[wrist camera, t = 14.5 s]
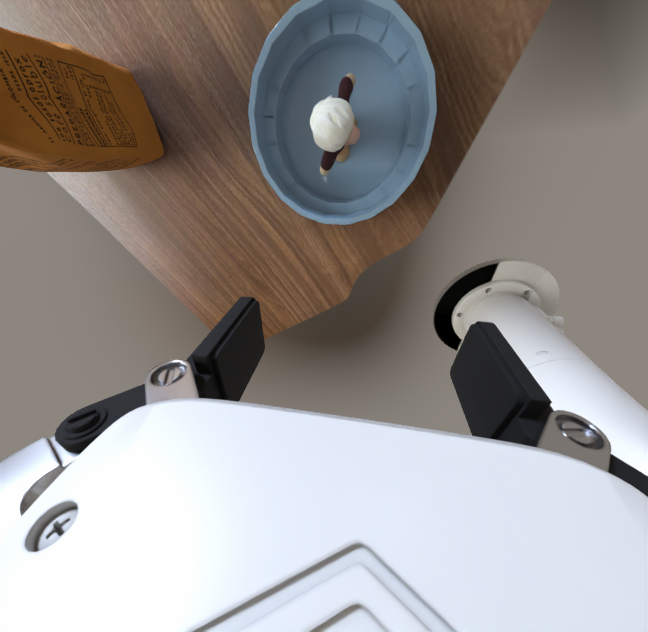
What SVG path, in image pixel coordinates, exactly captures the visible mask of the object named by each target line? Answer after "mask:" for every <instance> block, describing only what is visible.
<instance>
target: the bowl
mask: <svg viewBox="0 0 648 632" xmlns="http://www.w3.org/2000/svg"><path fill="white" fill-rule="evenodd" d="M348 73H352V74H354V76H355V78H356V83H355V86H354V88H353V91H352V94H351V96H350V99H349V104H350V106H351V109H352V112H353V114H354V117H355V118H356V120H357V127H358V128H359V129H360V137H359V139H358V141H357V142H356V143H355V144H353V145H348V146H349V148H350V154H349V156H348V158H347V160H346V161H344V162H338V161H336V160H335V162H334V165H333V166H332V168H331V169H330V172H329V173H328V174H327V175H323V174H321V172H320V166H321V160H322V155H323V153H324V149H322V148H320V147H319V146H318V145H317V144H316V143H315V140H314V137H313V131H312V129H311V126H310V118H311V115H312V112H313V109H314V107H315V105H317V104H318V102H320V101H322V100H325V99H326V98H327V97H329V96H330V95H332V97H333V98H337V97H338V90H339V84H340V82H341V80H342V78H343V77H345V76H346V75H347V74H348ZM248 111H249V112H248V114H249V122H250V130H251V138H252V145H253V149H254V151H255V154H256V156H257V159H258V162H259V164H260V167H261V169H262V172H263V175H264V177H265V178H266V179H267V181H268V182H269V184H270V185H271V186H272V188H273V189H274V191H275V192H276V193H277V195H278V196H279V198H280V199H281V200H282V201H283V202H285V203H286V204H287V205H289V206H290V207H291V208H292V209H294V210H295V211H296V212H297V213H299V214H300V215H302V216H304V217H307V218H310V219H312V220H315V221H317V222H320V223H323V224H339V225H349V224H352V223H356V222H359V221H363V220H366V219H369V218H372V217H374V216H375V215H377V214H378V213H380V212H381V211H383V210H384V209H386V208H387V207H389V206H390V205H392V204H393V203H394V202H395V201H396V200H397V199H398V198H399V197H400V196H401V194H402V193H403V192H404V191H405V190H406V189H407V187H408V186H409V185H410V184H411V183H412V182H413V180H414V179H415V177H416V175H417V173H418V171H419V169H420V167H421V165H422V163H423V161H424V158H425V156H426V154H427V152H428V150H429V148H430V143H431V138H432V133H433V128H434V124H435V119H436V114H437V101H436V82H435V69H434V67H433V64H432V61H431V58H430V55H429V53H428V50H427V47H426V44H425V41H424V39H423V36H422V33H421V31H420V30H419V29H418V27H417V26H416V25H415V24H414V22H413V21H412V20H411V19H410V18H409V16H408V15H407V14H406V13H405V12H404V10H403V9H402V8H401V7H400V6H399V4H398V3H397V2H395V1H394V0H301V1H299V2H297V3H295V4H294V5H292V6H291V8H290V9H289V10H288V11H287V13H286V14H285V15H284V16H283V17H282V19H281V20H280V21H279V22H278V24H277V25H276V26H275V27H274V29H273V30H272V31H271V32H270V34H269V35H268V37H267V38H266V41H265V43H264V46H263V48H262V51H261V53H260V56H259V59H258V61H257V64H256V66H255V69H254V71H253V74H252V83H251V91H250V100H249V109H248Z"/></svg>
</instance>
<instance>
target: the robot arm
mask: <svg viewBox="0 0 648 632" xmlns="http://www.w3.org/2000/svg"><path fill="white" fill-rule="evenodd" d="M563 322H564V319H563V318H562V317H560V316H548V315H546V314H545V313H544V312H543V311H542V310H541V302H540V298H539V296H538V294H537V293H536V292H535V291H534V290H533V289H532V288H531V287H529V286H528V285H526V284H524V283H522V282H519V281H515V280H497V281H492V282H488V283H486V284H483V285H480V286H478V287H476V288H475V289H473V290H471V291H470V292H469V293H467V294H466V295H465V296H464V297H463V298H462V299H461V300H460V301H459V302H458V304H457V305H456V307H455V309H454V311H453V314H452V326H453V328H454V331H455V332H456V334H457V335H458V336H459V338H460V339H462V340H463V343H462V345H461V347H460V349H459V352H458V354H457V356H456V358H455V361H454V363H453V365H452V367H451V370H450V376H451V379H452V382H453V384H454V387H455V390H456V393H457V395H458V398H459V401H460V403H461V406H462V409H463V412H464V414H465V417H466V420H467V422H468V425H469V428H470V430H471V433H472V436H470V435H464V434H458V433H450V432H445V431H438V430H431V429H425V428H418V427H412V426H404V425H399V424H391V423H385V422H378V421H372V420H365V419H358V418H352V417H345V416H338V415H331V414H324V413H317V412H310V411H303V410H296V409H289V408H282V407H275V406H268V405H261V404H253V403H245V402H239V400H240V398H241V396H242V394H243V392H244V390H245V388H246V386H247V384H248V382H249V381H250V379H251V377H252V374H253V373H254V371H255V369H256V367H257V365H258V363H259V361H260V359H261V357H262V355H263V353H264V349H265V344H264V336H263V329H262V321H261V313H260V306H259V302H258V301H256V300H255V298H252V297H240V298H239V300H238V301H237V302H236V303H235V304H234V305H233V307H232V308H231V309H230V310H229V311H228V312H227V314H226V315H225V316H224V317H223V318H222V319H221V321H220V322H219V323H218V324H217V325H216V326H215V327H214V329H213V330H212V331H211V332H210V333H209V334H208V336H207V337H206V338H205V339H204V340H203V341H202V343H201V344H200V345H199V346H198V347H197V348H196V350H195V351H194V352H193V353H192V354H191V355H190V356H189V358H188V359H187V360H182V359H173V360H169V361H165V362H163V363H160V364H159V365H157V366H155V367H154V368H153V369H152V370H151V371H149V373H148V374H147V376H146V379H145V384H143V385H141V386H138V387H135V388H133V389H130V390H128V391H125V392H122V393H120V394H117V395H115V396H112V397H109V398H107V399H104V400H102V401H99V402H97V403H94V404H92V405H89V406H86V407H84V408H82V409H80V410H78V411H76V412H74V413H73V414H71V415H70V416H69V417H67V418H66V419H65V420H64V421H63V422H62V423H61V424H60V426H59V427H58V428H57V430H56V433H55V435H54V436H53V437H51V438H49V439H48V438H47V437H46V436H44V437H42V438H41V439H39V440H37V441H35V442H34V443H32V444H30V445H28V446H27V447H25V448H23V449H21V450H20V451H18V452H16V453H14V454H12V455H11V456H9V457H7V458H6V459H4V460H2V461H0V632H648V411H647V410H646V409H645V408H643V407H642V406H641V405H640V404H639V403H638V402H636V401H635V400H634V399H633V398H632V397H631V396H630V395H628V394H627V393H626V392H625V391H624V390H623V389H622V388H621V387H619V386H618V385H617V384H616V383H615V382H614V381H613V380H612V379H611V378H610V377H608V376H607V375H606V374H605V373H604V372H603V371H602V370H601V369H600V368H599V367H597V365H595V364H594V363H593V362H592V361H591V360H590V359H589V358H588V357H587V356H586V355H585V354H584V353H582V351H581V350H580V349H578V348H577V347H576V346H575V345H574V344H573V343H572V342H571V341H570V340H569V339H568V338H567V337H565V334H564V331H563V330H562V329H559V328H556V327H555V326H554V325H562V324H563Z"/></svg>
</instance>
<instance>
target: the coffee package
mask: <svg viewBox="0 0 648 632" xmlns="http://www.w3.org/2000/svg"><path fill="white" fill-rule="evenodd" d="M163 155H164V147H163V144H162V142H161V140H160V137H159V134H158V131H157V128H156V125H155V123H154V120H153V118H152V116H151V113H150V110H149V109H148V106H147V104H146V101H145V98H144V96H143V93H142V91H141V89H140V88H139V86H138V84H137V83H136V81H135V79H134V77H133V75H132V74H131V72H130V71H129V70H128V69H127V68H124V67H120V66H117V65H115V64H112V63H109V62H106V61H104V60H103V59H100V58H97V57H95V56H93V55H91V54H89V53H87V52H85V51H83V50H80V49H78V48H76V47H74V46H72V45H68V44H63V43H57V42H50V41H46V40H43V39H39V38H36V37H33V36H29V35H25V34H21V33H18V32H14V31H11V30H8V29H4V28H2V27H0V166H1V167H7V168H14V169H22V170H29V171H38V172H99V171H112V170H121V169H128V168H132V167H136V166H140V165H143V164H146V163H148V162H151V161H154V160H156V159H158V158H160V157H162V156H163Z"/></svg>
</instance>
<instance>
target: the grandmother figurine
mask: <svg viewBox="0 0 648 632" xmlns="http://www.w3.org/2000/svg"><path fill="white" fill-rule="evenodd" d="M355 83H356V78H355V76H354V74H352V73H348V74H347V75H346V76H345V77H343V78H342V80H341V82H340V84H339V90H338V97H337V98H333V97H332V95H330V96H329V97H327V98H326V99H325V100H322V101H320V102H318V104H317V105H315V107H314V109H313V112H312V115H311V118H310V126H311V129H312V131H313V137H314V140H315V143H316V144H317V145H318V146H319V147H320V148H322V149H324V153H323V155H322V160H321V166H320V172H321V174H323V175H327V174H328V173H329V172H330V169H331V168H332V166H333V165H334V162H335V160H336V161H338V162H344V161H346V160H347V158H348V156H349V154H350V148H349V146H348V145H353V144H355V143H356V142H357V141H358V139H359V137H360V129H359V128H358V127H357V120H356V118H355V117H354V114H353V112H352V109H351V106H350V104H349V99H350V96H351V94H352V91H353V88H354V86H355Z"/></svg>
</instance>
